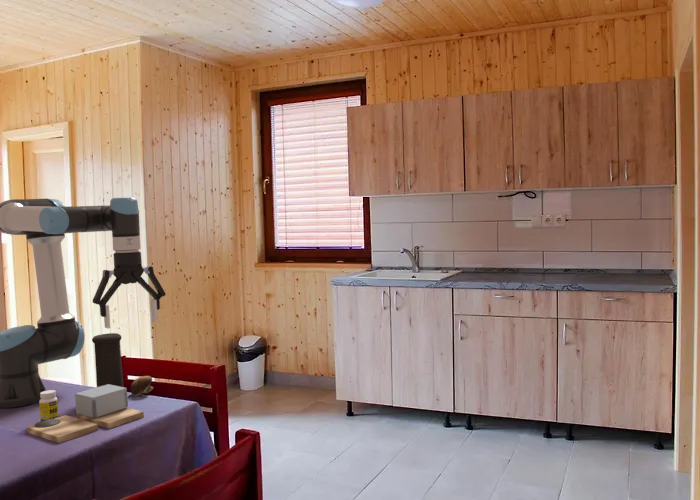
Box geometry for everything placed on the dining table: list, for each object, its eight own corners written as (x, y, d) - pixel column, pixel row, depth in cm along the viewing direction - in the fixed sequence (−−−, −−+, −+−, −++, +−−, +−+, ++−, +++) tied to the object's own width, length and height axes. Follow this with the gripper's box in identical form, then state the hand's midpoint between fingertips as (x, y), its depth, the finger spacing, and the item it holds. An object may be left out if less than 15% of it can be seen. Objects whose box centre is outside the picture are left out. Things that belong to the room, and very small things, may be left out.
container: (115, 390, 209) (111, 330, 207) (130, 394, 203) (126, 332, 202) (91, 396, 202) (86, 335, 201) (105, 401, 196) (101, 337, 195)
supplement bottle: (51, 423, 176) (49, 394, 176) (36, 423, 177) (34, 394, 177) (62, 418, 181) (60, 389, 180) (48, 418, 182) (46, 389, 181)
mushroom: (162, 380, 206) (149, 367, 204) (153, 396, 199) (140, 382, 197) (145, 390, 208) (132, 377, 206) (136, 406, 201) (122, 393, 199)
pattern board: (76, 419, 179) (75, 403, 179) (110, 408, 188) (109, 393, 188) (109, 428, 170) (107, 412, 169) (143, 416, 178) (142, 401, 178)
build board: (25, 432, 170) (25, 425, 170) (64, 420, 179) (64, 414, 179) (58, 443, 160) (58, 436, 160) (98, 429, 169) (97, 423, 169)
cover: (76, 413, 179) (75, 393, 179) (109, 402, 188) (108, 384, 187) (94, 417, 174) (93, 397, 173) (127, 407, 182) (126, 387, 182)
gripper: (85, 255, 170) (90, 332, 172) (174, 248, 185) (178, 320, 186) (78, 254, 176) (83, 328, 178) (164, 247, 191) (168, 317, 192)
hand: (131, 324), depth 182 cm, fingers open, 13 cm apart
